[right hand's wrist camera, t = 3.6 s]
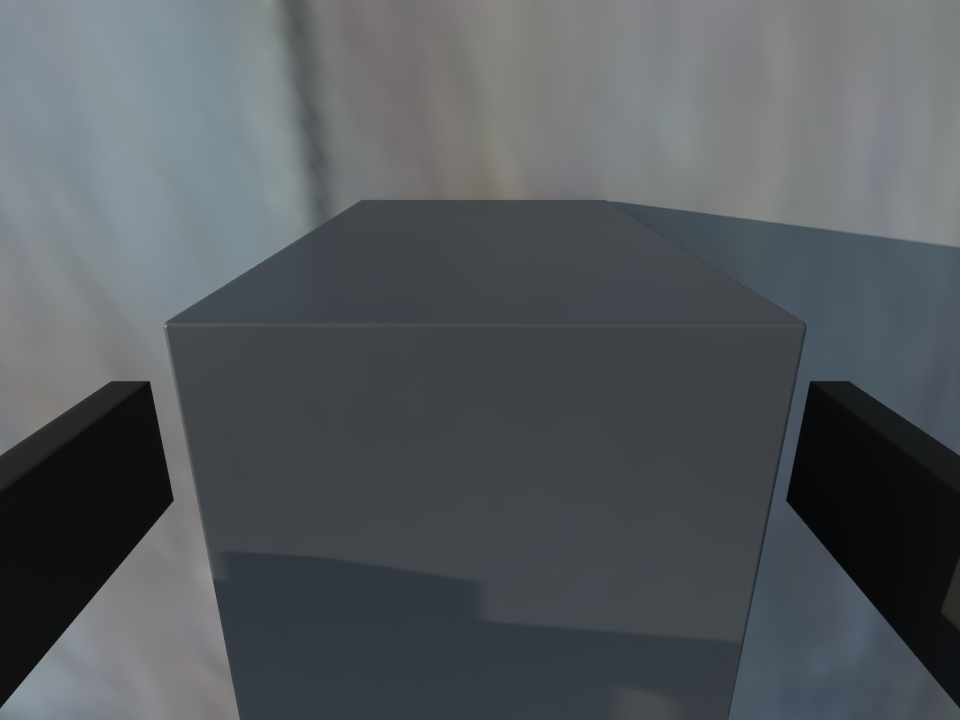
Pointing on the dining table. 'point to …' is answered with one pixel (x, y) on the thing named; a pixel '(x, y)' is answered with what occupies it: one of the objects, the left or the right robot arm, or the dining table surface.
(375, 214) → the box
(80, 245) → the dining table surface
